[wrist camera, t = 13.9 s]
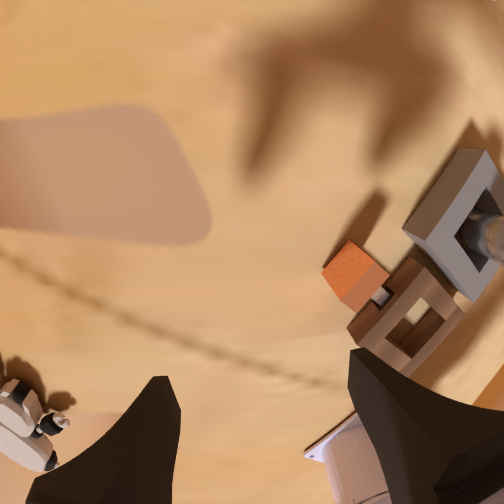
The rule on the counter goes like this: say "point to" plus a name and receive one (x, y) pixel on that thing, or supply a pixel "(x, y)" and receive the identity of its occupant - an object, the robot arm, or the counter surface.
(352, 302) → the pin
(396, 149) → the counter surface
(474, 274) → the block
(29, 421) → the robot toy
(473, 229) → the rounded metal peg
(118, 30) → the counter surface
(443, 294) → the socket block
